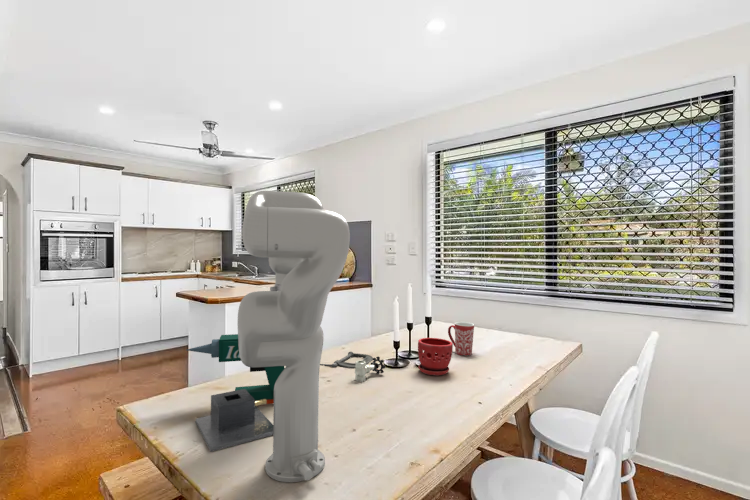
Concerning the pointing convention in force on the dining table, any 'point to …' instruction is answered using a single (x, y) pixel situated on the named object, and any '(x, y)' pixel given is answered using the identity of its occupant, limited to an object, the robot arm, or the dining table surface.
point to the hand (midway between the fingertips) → (288, 356)
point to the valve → (367, 368)
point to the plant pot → (434, 355)
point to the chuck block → (233, 420)
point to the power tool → (229, 352)
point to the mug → (462, 337)
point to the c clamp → (350, 365)
